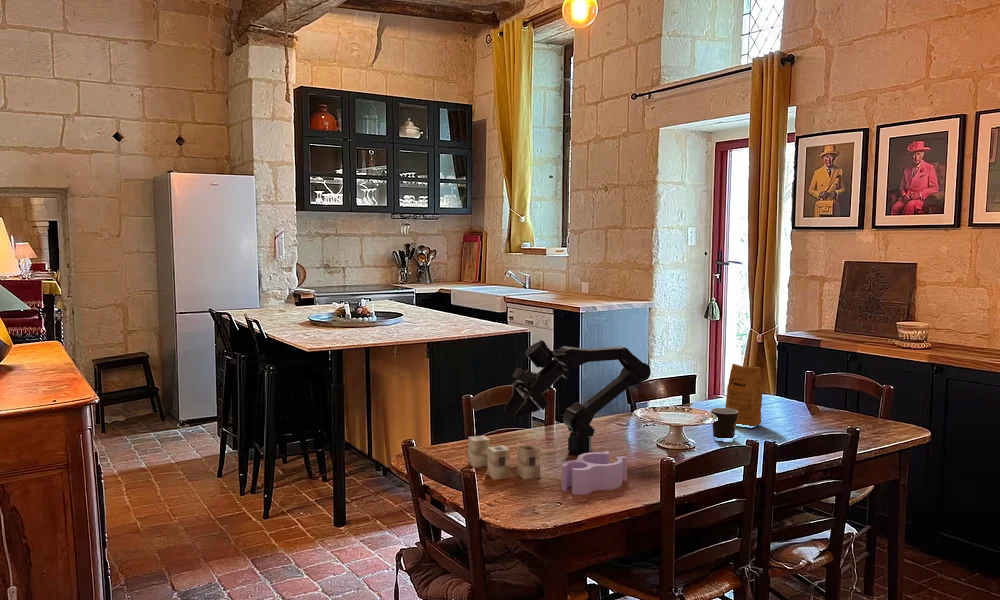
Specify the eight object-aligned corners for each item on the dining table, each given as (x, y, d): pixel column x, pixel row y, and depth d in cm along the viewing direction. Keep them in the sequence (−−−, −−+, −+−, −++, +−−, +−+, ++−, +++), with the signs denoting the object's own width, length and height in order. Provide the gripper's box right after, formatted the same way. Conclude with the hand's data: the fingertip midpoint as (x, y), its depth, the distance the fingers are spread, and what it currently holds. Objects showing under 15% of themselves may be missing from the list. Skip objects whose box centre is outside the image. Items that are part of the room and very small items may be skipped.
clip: (584, 499, 194) (584, 473, 193) (551, 486, 204) (551, 462, 203) (634, 483, 207) (634, 458, 206) (600, 472, 216) (601, 448, 216)
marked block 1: (503, 472, 215) (504, 444, 215) (510, 477, 211) (510, 449, 210) (487, 474, 214) (487, 446, 213) (493, 479, 209) (493, 451, 208)
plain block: (484, 461, 226) (484, 435, 225) (489, 465, 221) (489, 439, 220) (468, 462, 224) (468, 436, 223) (473, 467, 219) (473, 441, 219)
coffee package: (733, 419, 278) (735, 361, 276) (765, 425, 269) (767, 365, 267) (720, 424, 271) (722, 364, 269) (752, 430, 262) (754, 369, 260)
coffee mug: (727, 445, 244) (728, 415, 243) (705, 439, 251) (706, 410, 250) (746, 438, 252) (747, 409, 251) (724, 433, 258) (725, 405, 257)
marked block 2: (533, 472, 216) (533, 444, 215) (540, 477, 211) (540, 449, 210) (517, 474, 214) (517, 446, 213) (524, 479, 209) (524, 451, 208)
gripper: (519, 354, 236) (484, 388, 233) (540, 364, 218) (502, 401, 215) (541, 379, 239) (506, 413, 236) (563, 391, 221) (526, 428, 218)
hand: (509, 413), depth 226 cm, fingers open, 9 cm apart
